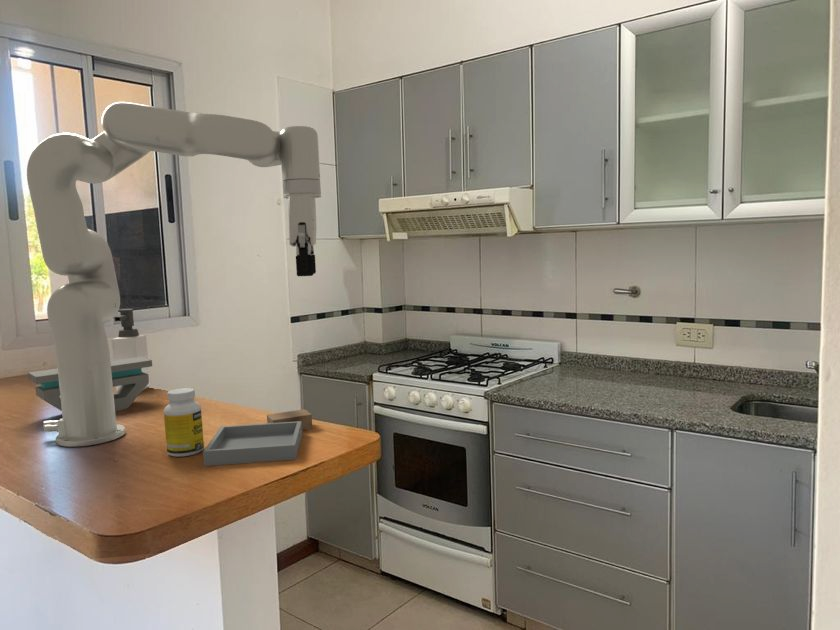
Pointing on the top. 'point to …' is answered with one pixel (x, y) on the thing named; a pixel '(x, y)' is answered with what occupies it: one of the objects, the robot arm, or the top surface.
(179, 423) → the pill bottle
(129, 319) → the soap dispenser
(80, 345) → the robot arm
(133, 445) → the top surface
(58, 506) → the top surface
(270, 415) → the walnut block
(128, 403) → the sharpening stone
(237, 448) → the tray
